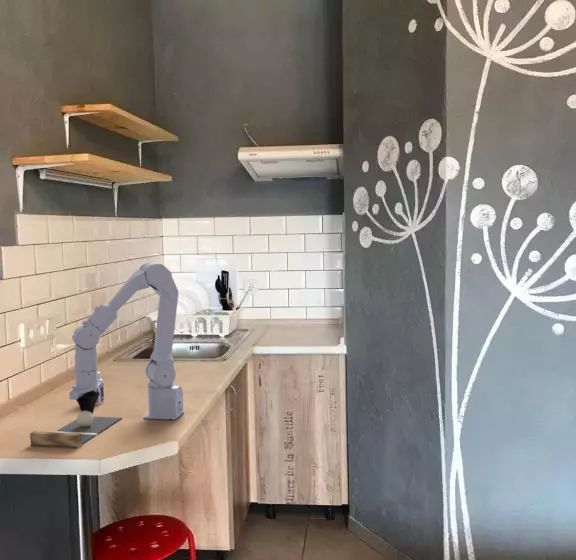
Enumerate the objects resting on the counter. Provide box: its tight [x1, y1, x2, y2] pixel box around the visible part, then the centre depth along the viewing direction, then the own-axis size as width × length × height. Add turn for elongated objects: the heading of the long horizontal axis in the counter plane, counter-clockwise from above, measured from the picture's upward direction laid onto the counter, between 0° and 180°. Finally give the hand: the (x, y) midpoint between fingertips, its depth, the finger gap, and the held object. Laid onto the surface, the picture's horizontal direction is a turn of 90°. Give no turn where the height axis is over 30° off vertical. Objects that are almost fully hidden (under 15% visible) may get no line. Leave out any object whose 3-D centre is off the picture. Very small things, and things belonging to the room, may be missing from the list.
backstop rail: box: [29, 430, 83, 449], centre depth 160 cm, size 13×2×3 cm, turn 79°
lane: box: [33, 416, 123, 449], centre depth 172 cm, size 12×25×1 cm, turn 169°
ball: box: [76, 411, 95, 427], centre depth 175 cm, size 4×4×4 cm
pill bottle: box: [94, 370, 105, 406], centre depth 200 cm, size 5×5×10 cm
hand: (87, 419), depth 176 cm, fingers closed, pressing on ball
